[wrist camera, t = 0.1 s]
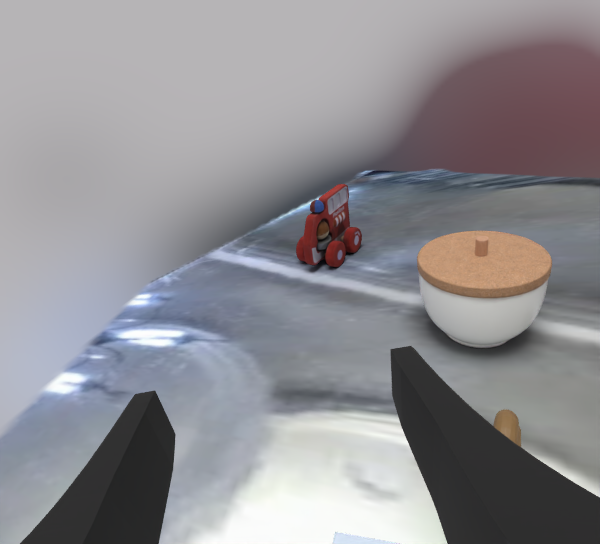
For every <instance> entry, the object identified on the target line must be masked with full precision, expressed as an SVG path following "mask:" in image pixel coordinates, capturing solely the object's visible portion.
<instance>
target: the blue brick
mask: <svg viewBox="0 0 600 544" xmlns="http://www.w3.org/2000/svg"><path fill="white" fill-rule="evenodd" d="M333 544H400V543H394V542H389V541H383V540H377V539H372V538H366V537H361V536H355V535H349V534H344V533H338V532H335V535H334V540H333Z"/></svg>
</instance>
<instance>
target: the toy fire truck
mask: <svg viewBox="0 0 600 544" xmlns="http://www.w3.org/2000/svg"><path fill="white" fill-rule="evenodd" d="M348 199H349V192H348V186H347V185H345V184H339V185H337V186H335V187H334V188H333V189H331V190H330V191H328V192H327V193H326V194H324V195H323V196H321V197H320V198H319V200H314V201H313V202H312V203H311V205H310V211H311V212H312V213H311V214H310V215H308V216H307V219H306V224H305V232H304V236H303V237H301V239H300V240H299V242H298V244H297V248H296V254H297V257H298V259H299V260H301V261H304V262H306V263H307V264H310V265H316V264H318V263H319V262H320V261H321V260H325V259H326V263H327V264H328V265H329V266H332V267H339V266H340V265H341V264H342V263H343V261H344V259H345V254H346V252H350V253H355V252H356V251H357V250H358V249H359V247H360V245H361V240H362V235H361V231H360V229H358V228H356V227H350V222H349V210H348Z"/></svg>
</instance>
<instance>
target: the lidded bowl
mask: <svg viewBox="0 0 600 544" xmlns="http://www.w3.org/2000/svg"><path fill="white" fill-rule="evenodd" d="M417 265H418V271H419V284H420V292H421V297H422V300H423V304H424V307H425V309H426V311H427V313H428V315H429V317H430V318H431V320H432V321H433V322H434V323H435V324H436V325H437V326H438V327H439V328H440V329H441V330H442V331H444V332H445V333H446V334H447V335H448V336H449V337H450V338H451V339H452V340H454V341H455V342H457V343H460V344H462V345H465V346H469V347H475V348H491V347H496V346H499V345H502V344H504V343H506V342H507V341H508V340H509V339H511V338H514V337H515V336H517V335H519V334H520V333H522V332H523V331H524V330H525V329H527V328H528V327H529V326H530V324H531V323H532V322H533V321H534V319H535V318H536V316H537V314H538V312H539V310H540V308H541V306H542V303H543V300H544V297H545V293H546V288H547V283H548V278H549V276H550V273H551V267H552V260H551V257H550V255H549V253H548V252H547V251H546V250H545V249H544V248H543V247H542V246H540V245H539V244H537V243H535V242H533V241H532V240H529V239H526V238H524V237H521V236H517V235H513V234H508V233H502V232H494V231H467V232H459V233H453V234H449V235H445V236H442V237H439V238H436V239H434V240H432V241H430V242H429V243H427V244H426V245H425V246H424V247H423V248H422V249H421V250H420V252H419V253H418V256H417Z"/></svg>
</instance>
